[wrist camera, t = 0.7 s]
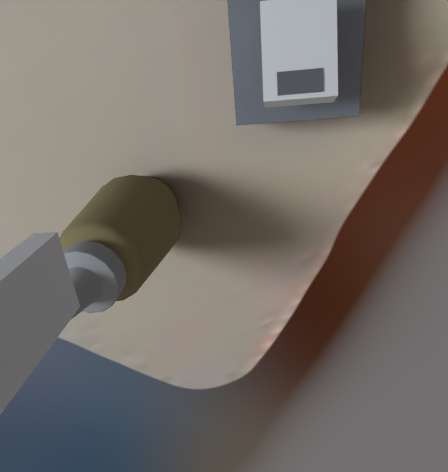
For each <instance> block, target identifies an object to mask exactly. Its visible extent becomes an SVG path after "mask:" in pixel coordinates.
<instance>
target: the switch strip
mask: <svg viewBox="0 0 448 472" xmlns="http://www.w3.org/2000/svg"><path fill="white" fill-rule="evenodd" d="M227 1H228V15H229V29H230V43H231V56H232V70H233V84H234V98H235V111H236V125H248V124H262V123H275V122H289V121H302V120H315V119H329V118H342V117H355V116H359V109H360V93H361V76H362V59H363V42H364V25H365V8H366V0H337V52H338V97H337V98H336V99H335V101H334V102H331V103H318V104H306V105H294V106H281V107H269V108H264V102H263V76H262V49H261V21H260V1H266V0H227Z"/></svg>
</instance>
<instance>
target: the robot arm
mask: <svg viewBox="0 0 448 472" xmlns="http://www.w3.org/2000/svg"><path fill="white" fill-rule="evenodd" d="M79 307H80V304H79V301H78V297H77V294H76V291H75V288H74V285H73V281H72V278H71V275H70V272H69V268H68V265H67V262H66V259H65V256H64V252H63V249H62V246H61V243H60V239H59V236H58V233H57V232H51V233H33V234H32V235H31V236H30V237H28V238H27V239H26V240H24V241H23V242H22V243H21V244H19V245H18V246H17V247H15V248H14V249H13V250H12V251H10V252H9V253H8V254H6V255H5V256H4V257H3V258H1V259H0V414H1V413H2V411H3V410H4V409H5V407H6V406H7V405H8V403H9V402H10V400H11V399H12V398H13V396H14V395H15V394H16V392H17V391H18V390H19V388H20V387H21V386H22V384H23V383H24V382H25V380H26V379H27V378H28V376H29V375H30V374H31V372H32V371H33V369H34V368H35V366H36V365H37V364H38V363H39V361H40V360H41V359H42V357H43V356H44V355H45V353H46V352H47V351H48V349H49V348H50V347H51V345H52V344H53V342H54V341H55V340H56V338H57V337H58V336H59V334H60V333H61V332H62V330H63V329H64V328H65V326H66V325H67V324H68V322H69V321H70V319H71V318H72V317H73V315H74V314H75V313H76V311H77V310H78V309H79Z"/></svg>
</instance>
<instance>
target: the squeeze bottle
mask: <svg viewBox="0 0 448 472" xmlns="http://www.w3.org/2000/svg"><path fill="white" fill-rule="evenodd" d="M181 221H182V220H181V216H180V212H179V208H178V205H177V201H176V198H175V195H174V193H173V192H172V191H171V190H170V188H169V187H168V186H167V185H166V184H164V183H163V182H161V181H160V180H158V179H155V178H151V177H146V176H137V175H129V176H124V177H119V178H114V179H113V180H111V181H110V182H109V183H107V184H106V185H105V186H103V187H102V188H101V189H100V190H99V191H98V192H97V193H96V195H95V196H94V197H93V198H92V199H91V200H90V201H89V203H88V204H87V205H86V206H85V207H84V208H83V209H82V211H81V212H80V213H79V214H78V215H77V216H76V217H75V219H74V220H73V221H72V222H71V223H70V224H69V225H68V227H67V228H66V229H65V230H64V231H63V232H62V234H61V236H60V238H59V239H60V243H61V246H62V249H63V252H64V256H65V259H66V262H67V265H68V268H69V272H70V275H71V278H72V281H73V285H74V288H75V291H76V294H77V297H78V301H79V304H80V307H79V309H78V310H77V311H76V313H75V314H74V315H73V317H75V316H76V315H77V314H79V313H80V312H81V311H83V312H87V313H94V312H102V311H104V310H106V309H108V308H109V307H111V306H112V305H113V304H114V302H115V301H120V300H124V299H126V298H128V297H129V296H131V295H133V294H134V293H136V292H137V291H138V289H139V288H140V287H141V286H142V284H143V283H144V282H145V281H146V279H147V278H148V277H149V276H150V274H151V273H152V272H153V271H154V269H155V268H156V267H157V266H158V264H159V263H160V262H161V261H162V259H163V258H164V257H165V256H166V255H167V253H168V252H169V251H170V250H171V248H172V247H173V245H174V244H175V242H176V241H177V239H178V238H179V235H180V228H181ZM73 317H72V318H73ZM72 318H71V319H72ZM71 319H70V320H71Z"/></svg>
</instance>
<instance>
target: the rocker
mask: <svg viewBox="0 0 448 472" xmlns="http://www.w3.org/2000/svg"><path fill="white" fill-rule="evenodd" d="M260 21H261V49H262V76H263V102H264V108H269V107H281V106H294V105H306V104H318V103H331V102H334V101H335V99H336V98H337V97H338V52H337V0H266V1H260Z"/></svg>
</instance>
